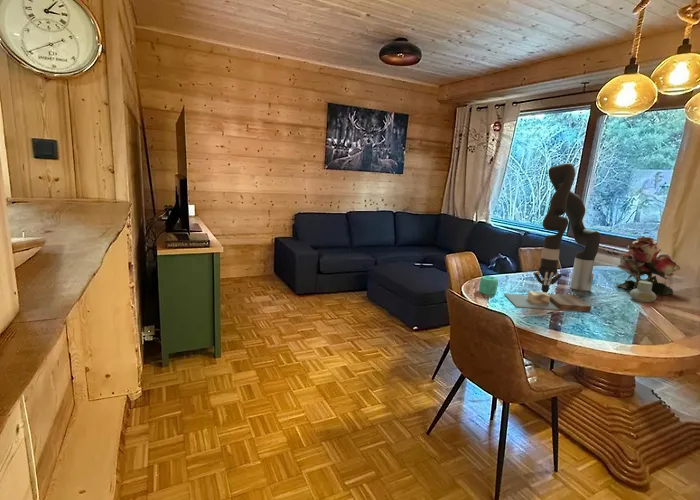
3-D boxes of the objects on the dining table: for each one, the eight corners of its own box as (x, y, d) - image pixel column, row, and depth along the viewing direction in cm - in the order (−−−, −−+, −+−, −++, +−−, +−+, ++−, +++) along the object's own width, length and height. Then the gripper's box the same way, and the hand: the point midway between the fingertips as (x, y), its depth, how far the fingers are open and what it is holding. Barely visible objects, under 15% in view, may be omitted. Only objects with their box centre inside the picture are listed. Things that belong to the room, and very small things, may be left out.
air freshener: (631, 301, 201) (635, 282, 199) (627, 296, 208) (630, 278, 206) (657, 304, 197) (661, 285, 195) (651, 300, 205) (655, 281, 203)
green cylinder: (478, 293, 203) (480, 278, 201) (481, 289, 210) (482, 274, 208) (494, 296, 199) (496, 281, 198) (496, 292, 206) (498, 277, 205)
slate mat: (543, 297, 201) (543, 296, 201) (559, 310, 183) (560, 309, 183) (504, 294, 203) (504, 293, 202) (516, 307, 184) (516, 306, 184)
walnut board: (573, 300, 199) (574, 295, 198) (590, 311, 183) (591, 306, 183) (545, 298, 200) (546, 293, 199) (559, 309, 184) (559, 304, 184)
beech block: (544, 299, 195) (545, 292, 194) (549, 304, 189) (550, 296, 188) (527, 298, 196) (528, 291, 195) (532, 302, 190) (533, 295, 189)
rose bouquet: (680, 294, 218) (693, 241, 211) (642, 297, 209) (654, 241, 203) (635, 280, 242) (645, 232, 235) (599, 283, 233) (608, 233, 226)
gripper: (560, 256, 190) (555, 290, 194) (532, 254, 191) (527, 288, 195) (567, 260, 183) (562, 295, 187) (538, 258, 184) (533, 293, 188)
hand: (544, 292), depth 191 cm, fingers closed
